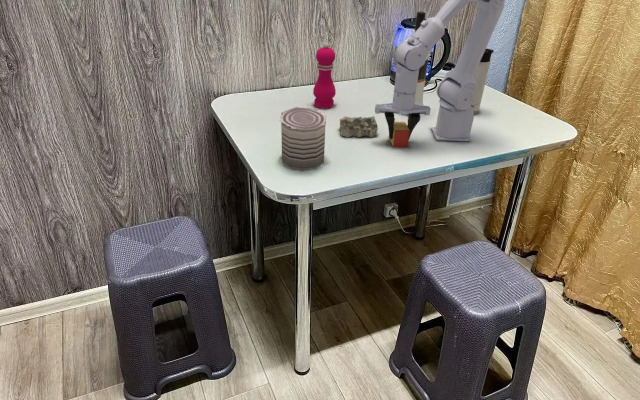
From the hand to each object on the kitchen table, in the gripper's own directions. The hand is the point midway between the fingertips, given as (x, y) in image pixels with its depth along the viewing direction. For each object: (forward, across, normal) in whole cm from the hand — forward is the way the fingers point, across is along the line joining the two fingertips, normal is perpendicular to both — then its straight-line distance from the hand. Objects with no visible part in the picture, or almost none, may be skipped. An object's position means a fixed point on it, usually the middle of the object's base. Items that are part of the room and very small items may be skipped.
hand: (398, 137), depth 131 cm
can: (+2, -26, -12) cm, 29 cm away
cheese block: (+2, 0, 0) cm, 2 cm away
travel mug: (+2, +26, +25) cm, 36 cm away
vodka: (+2, +6, +24) cm, 25 cm away
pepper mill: (+2, -21, +26) cm, 33 cm away
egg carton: (+2, -11, +6) cm, 13 cm away
